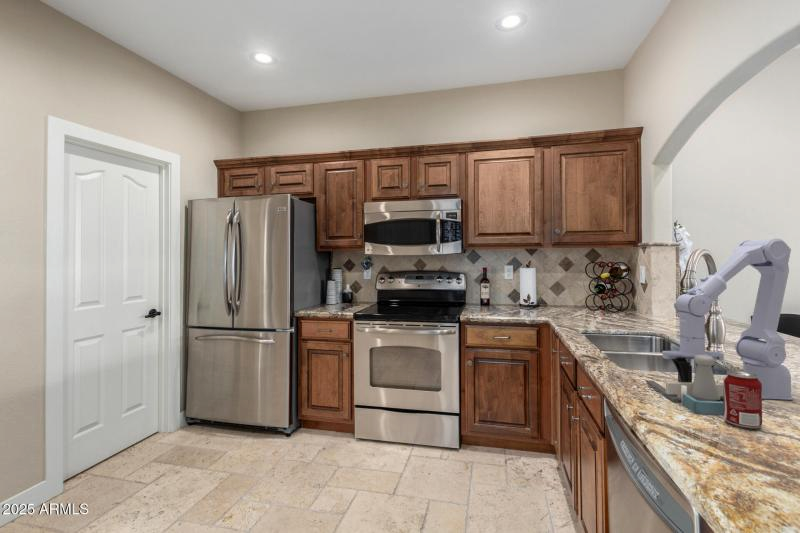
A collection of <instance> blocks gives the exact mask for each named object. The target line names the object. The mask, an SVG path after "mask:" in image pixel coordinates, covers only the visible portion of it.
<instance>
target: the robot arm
mask: <svg viewBox="0 0 800 533" xmlns="http://www.w3.org/2000/svg"><path fill="white" fill-rule="evenodd" d="M791 252H792V248H791V247H790V246H789V245H788V244H787V242H785V241H784V240H783V239H781V238H771V239H757V240H750V239H749V240H743V241H742V242H740V243H739V244H738V246H736V247H734V248H733V254H732V255H731V256H730V257H729V258H728V259H727V260H726V261H725V262H724V263H723V264H722V266H720V268H719V269H718V270H717V271H716V272H714V274H708V275H705V276H701V277H700V279H699V280H700V281H698V283H697V284H695V285H694V286H693V287H692V288H690V289H689V290H688V292H687V293H684V294H680V295H679V296H678V297H676V298H677V299H676V300H675V302H674V303H673V308H674V310H675V311H677V317H678V318H679V350H677V349H676V350H675V349H674V350H662V352H661V354H662V355H661V356H662V358H663V359H665V360H670V359H671V361H672V363H673V364H674V366H675V369H677V373H678V372H679V375H680V378H681V382H688V372H689V366H690V365H691V363H690V362H689V361H688V360H694V357H695V356H696V355H707V356H711V357H713V358H714V361H725V360H724V356H725V355H724V353H723V352H720V351H707V350H706V329H705V324H706V323H705V315H706V314H708V313H709V312H710V310H711V309H712V308H711V307H712V304H713V302H714V301H715V300H716V299H717V298H718V297H719V296H720V295H721V294H722V293H723V292H724V291H726V290H727V282H729V281H730V280H731V279H733V277H735V276H736V275H737V274H739V273H741V271H742V270H744V269H745V268H746V267H748V266H750V267H752V268H754V269H755V270H757V272H759V274H760V279H759V283H758V284H759V285H758V288H757V289H758V290H757V293H756V299H755V303H754V307H753V312H752V317H751V323H750V327H749V328H747V329H745V330H743V331H742V332H741V333H740V337H739V339H738V340H737V341H736V343H735V348H734V349H735V351H736V354H737V355H738V357H740V361H742V368H743V369H742V371H745V372H750V373H754V374H756V375H758V380H759V381H760V382H761V384H762V400H763V399H764V400H765V399H766V400H785V401H786V400H790V401H793V400H794V398H793V397H792V375H791V372H790V371H789V370H790V369H788V367H787V366H785V365H784V364H783V363H784V362H785V360H786V358H787V351H786V339H784V338H783V337H782V336H781V335H780V334H779V333H778V331H777V330H778V328H779V327H778V326H779V322H780V317H781V312H782V307H783V302H784V299H785V298H784V297H785V293H786V289H787V288H786V287H787V283H788V278H789V274H790V267H789V261H790V257H791ZM696 366H697V364H695V367H696ZM714 366H715V364H714V365H713V366H711V367H712V368H713V367H714Z"/></svg>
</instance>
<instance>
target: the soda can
mask: <svg viewBox="0 0 800 533" xmlns="http://www.w3.org/2000/svg"><path fill="white" fill-rule="evenodd" d="M722 380H723V382H722V384H723V397H724V415H723V419H724V421H725V422H727V423H729V425H731V426H734V427H737V428H741V429H744V430H745V429H746V430H755V429H759V428H761V427H763V399H762V384H761V382H760V381H759V380H758V375H756V374H754V373H750V372H745V371H743V370H736V369H735V370H733V369H732V370H727V371H726V374H725V376H724V377H723V379H722Z"/></svg>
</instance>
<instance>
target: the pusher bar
mask: <svg viewBox="0 0 800 533" xmlns="http://www.w3.org/2000/svg"><path fill="white" fill-rule="evenodd" d="M715 384H716V388H717V393H718V400H719V401H721V400H720V396H723V382H722V383H721V382H720V383H717V382H715ZM681 385H684V386H687V394H688V395H689V396H691V397H692V395H691V392H692V387H693V366H692V365H691V364H690V366H689V372H688V382H681V378H680V375H679V372H678V371H677V381H665V389H666V393H667V394H674V395H676V396H677V397H679V398H680V399H681Z"/></svg>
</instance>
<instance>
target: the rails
mask: <svg viewBox="0 0 800 533" xmlns="http://www.w3.org/2000/svg"><path fill="white" fill-rule="evenodd" d="M645 381H646V385H647V386H649V387H651V389H653V390H654V391H656V392H658V393H659V394H660V395H662V396H664V397H665V398H666V399H667V400H669V401H670V402H672V403H673V404H681V398H679V397H677V396H676V395H674V394H667V393H666V387H664V386H662V385H661V384H659V383H658V382H656V381H655V380H649V379H648V380H645ZM719 401H720V402H724V397H723V396H720V400H719Z"/></svg>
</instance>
